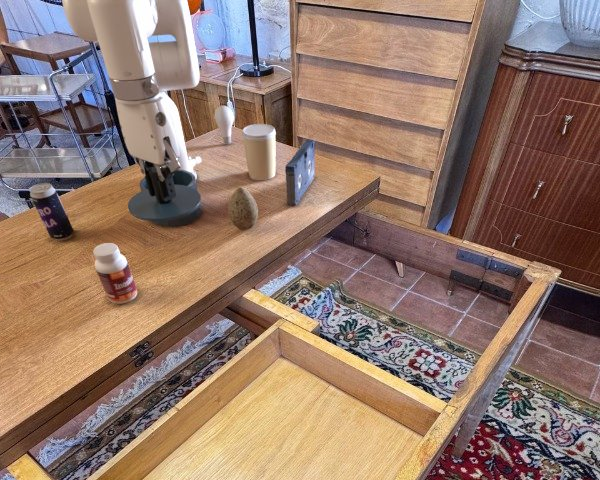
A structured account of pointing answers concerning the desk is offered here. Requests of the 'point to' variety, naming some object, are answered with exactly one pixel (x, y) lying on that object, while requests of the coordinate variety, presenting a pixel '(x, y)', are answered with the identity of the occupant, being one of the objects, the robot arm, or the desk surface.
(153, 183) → the tin lid
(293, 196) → the vhs cassette tape
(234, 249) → the desk surface
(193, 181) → the tin
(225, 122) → the lightbulb
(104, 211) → the desk surface
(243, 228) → the decorative egg
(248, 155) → the coffee cup
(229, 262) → the desk surface
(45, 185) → the beverage can
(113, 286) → the pill bottle
